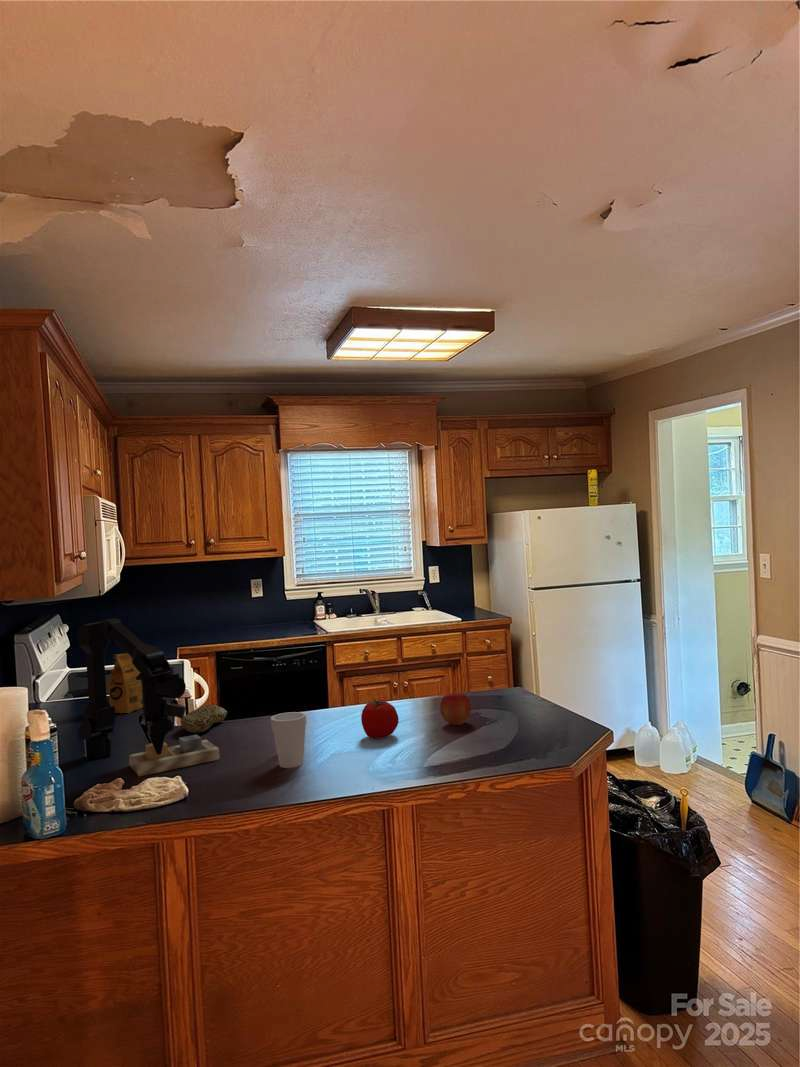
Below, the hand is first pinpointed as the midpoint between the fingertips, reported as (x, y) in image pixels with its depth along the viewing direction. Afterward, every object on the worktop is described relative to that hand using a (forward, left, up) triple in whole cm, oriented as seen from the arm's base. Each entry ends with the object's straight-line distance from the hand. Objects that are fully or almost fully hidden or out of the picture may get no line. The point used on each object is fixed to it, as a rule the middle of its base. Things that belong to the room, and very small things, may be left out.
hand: (156, 751), depth 212 cm
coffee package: (+8, +82, -4) cm, 82 cm away
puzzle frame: (+5, 0, -4) cm, 6 cm away
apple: (+86, -23, -4) cm, 89 cm away
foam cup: (+30, -25, -4) cm, 39 cm away
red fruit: (+61, -19, -4) cm, 64 cm away
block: (0, 0, -4) cm, 4 cm away
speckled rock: (+22, +33, -4) cm, 40 cm away
